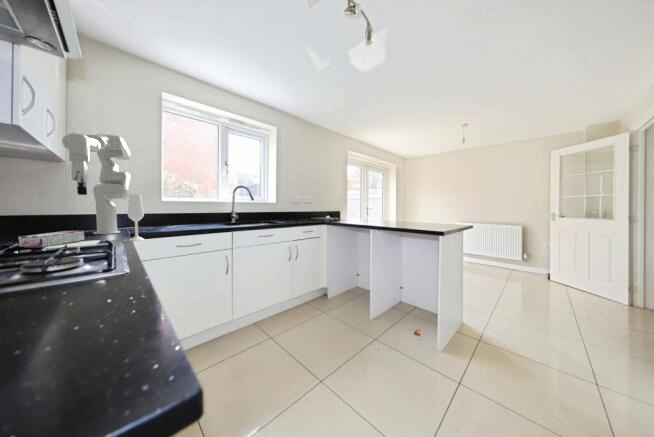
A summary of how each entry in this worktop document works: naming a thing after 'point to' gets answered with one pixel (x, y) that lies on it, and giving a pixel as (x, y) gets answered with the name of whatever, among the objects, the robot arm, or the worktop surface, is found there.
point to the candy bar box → (51, 238)
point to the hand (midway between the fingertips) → (82, 194)
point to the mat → (74, 244)
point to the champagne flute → (135, 212)
